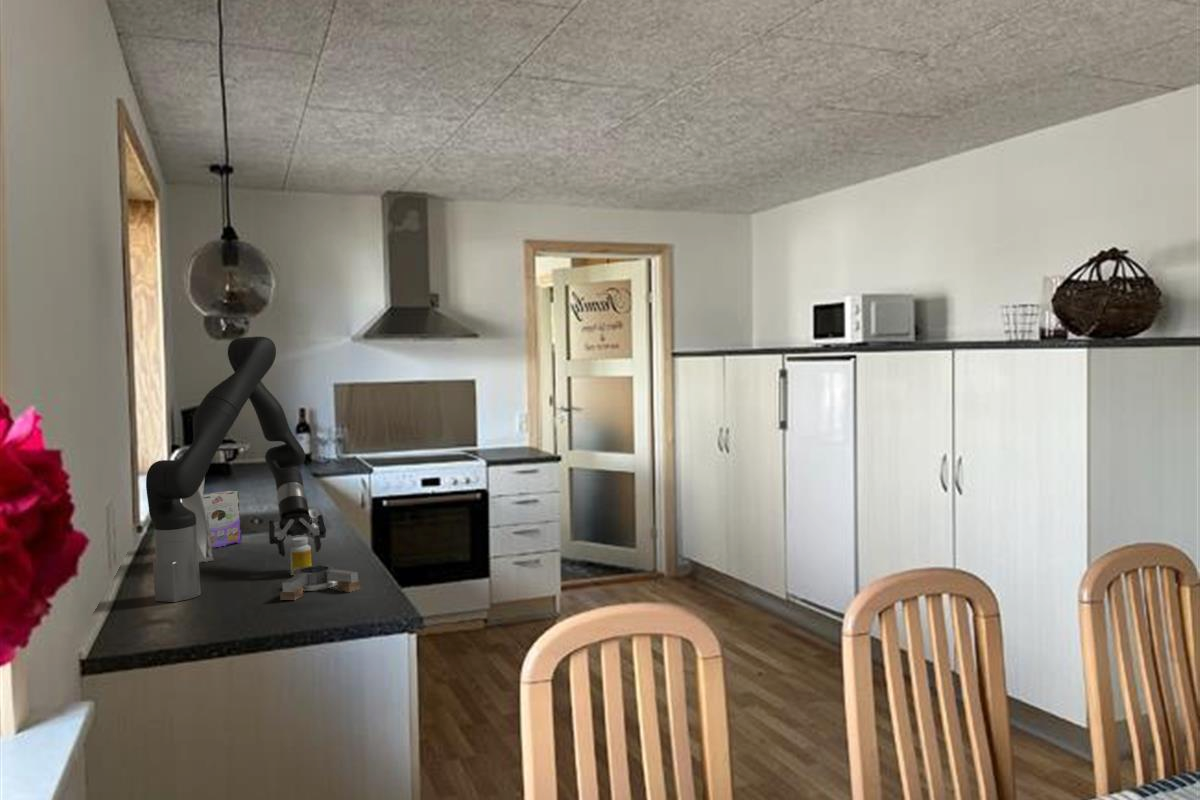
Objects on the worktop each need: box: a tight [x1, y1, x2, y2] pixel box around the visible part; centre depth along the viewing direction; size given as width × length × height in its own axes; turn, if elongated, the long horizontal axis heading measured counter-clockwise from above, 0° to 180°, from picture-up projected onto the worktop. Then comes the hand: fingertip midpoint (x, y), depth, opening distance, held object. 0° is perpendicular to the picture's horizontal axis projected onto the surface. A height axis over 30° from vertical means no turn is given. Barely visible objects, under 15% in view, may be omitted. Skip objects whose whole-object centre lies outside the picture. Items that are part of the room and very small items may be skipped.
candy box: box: [203, 490, 243, 549], centre depth 271 cm, size 14×6×16 cm, turn 141°
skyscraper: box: [181, 476, 214, 564], centre depth 250 cm, size 8×8×28 cm
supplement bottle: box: [289, 536, 313, 577], centre depth 231 cm, size 5×5×10 cm
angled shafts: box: [281, 568, 359, 592], centre depth 210 cm, size 14×14×2 cm
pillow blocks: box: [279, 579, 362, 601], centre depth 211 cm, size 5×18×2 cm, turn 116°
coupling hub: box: [295, 564, 338, 593], centre depth 219 cm, size 12×12×4 cm
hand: (300, 552), depth 230 cm, fingers open, 8 cm apart
